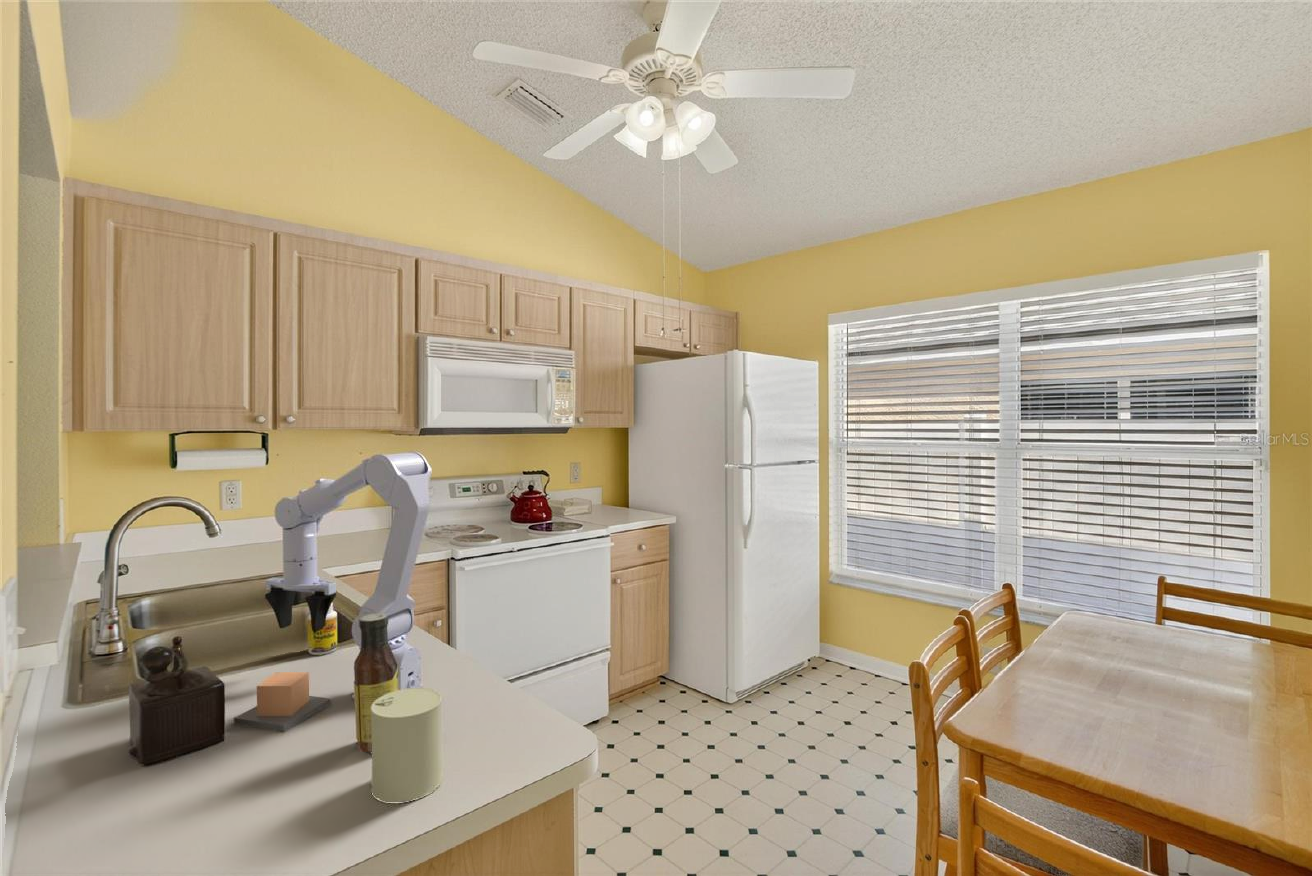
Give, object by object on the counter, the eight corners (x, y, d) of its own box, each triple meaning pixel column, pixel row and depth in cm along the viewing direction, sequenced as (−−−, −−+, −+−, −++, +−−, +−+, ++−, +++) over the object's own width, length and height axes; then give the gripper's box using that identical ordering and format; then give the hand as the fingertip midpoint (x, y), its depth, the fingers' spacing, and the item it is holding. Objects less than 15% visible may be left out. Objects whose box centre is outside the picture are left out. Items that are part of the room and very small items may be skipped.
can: (384, 767, 92) (383, 685, 92) (449, 764, 93) (449, 683, 92) (360, 806, 83) (359, 715, 82) (433, 802, 84) (432, 712, 83)
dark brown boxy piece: (122, 745, 98) (119, 629, 97) (208, 719, 106) (205, 612, 105) (144, 784, 87) (141, 655, 87) (237, 752, 96) (235, 634, 95)
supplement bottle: (309, 658, 133) (308, 609, 132) (307, 649, 137) (306, 602, 137) (339, 652, 136) (338, 605, 135) (335, 644, 140) (335, 598, 140)
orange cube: (309, 700, 111) (308, 672, 111) (291, 715, 105) (291, 685, 105) (276, 700, 111) (275, 672, 111) (257, 716, 105) (256, 686, 105)
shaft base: (330, 704, 112) (330, 678, 112) (284, 731, 102) (283, 704, 102) (283, 697, 114) (283, 672, 114) (234, 723, 104) (233, 696, 104)
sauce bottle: (409, 740, 99) (407, 614, 99) (373, 759, 94) (371, 626, 93) (382, 730, 103) (380, 608, 102) (345, 747, 97) (344, 618, 97)
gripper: (347, 556, 125) (348, 625, 125) (286, 552, 128) (287, 618, 129) (319, 564, 118) (321, 637, 118) (256, 559, 121) (257, 630, 122)
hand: (301, 628), depth 123 cm, fingers open, 7 cm apart
